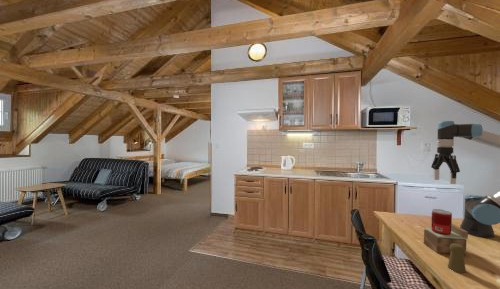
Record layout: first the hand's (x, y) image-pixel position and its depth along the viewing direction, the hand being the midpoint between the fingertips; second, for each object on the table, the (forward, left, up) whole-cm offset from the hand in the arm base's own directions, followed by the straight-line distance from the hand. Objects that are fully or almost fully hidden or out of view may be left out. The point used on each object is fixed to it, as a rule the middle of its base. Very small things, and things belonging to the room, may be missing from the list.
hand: (444, 181), depth 141 cm
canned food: (+15, +22, -23) cm, 35 cm away
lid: (+13, +23, -24) cm, 35 cm away
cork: (+21, +43, -32) cm, 57 cm away
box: (+13, +23, -32) cm, 41 cm away
